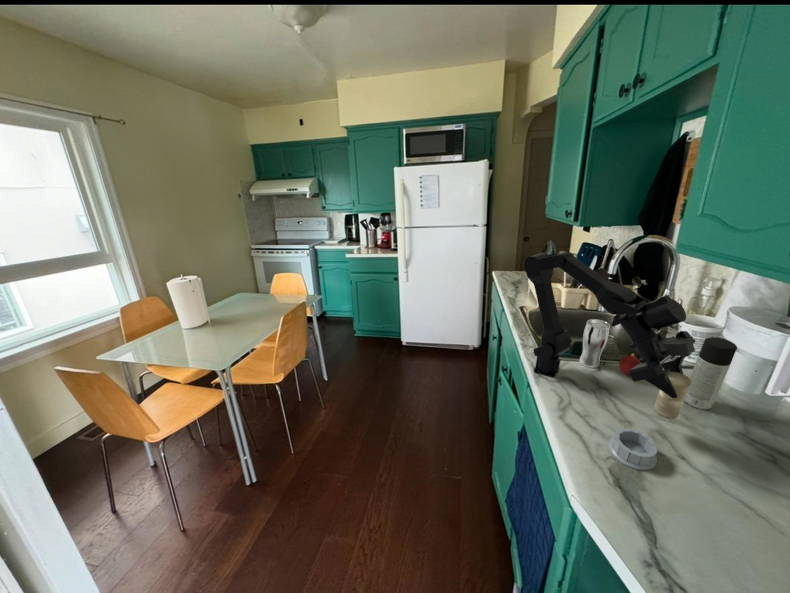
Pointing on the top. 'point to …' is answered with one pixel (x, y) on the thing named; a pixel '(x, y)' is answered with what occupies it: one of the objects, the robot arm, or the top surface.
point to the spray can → (709, 372)
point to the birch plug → (667, 404)
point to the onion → (628, 363)
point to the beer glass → (594, 342)
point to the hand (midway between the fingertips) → (680, 393)
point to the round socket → (633, 449)
